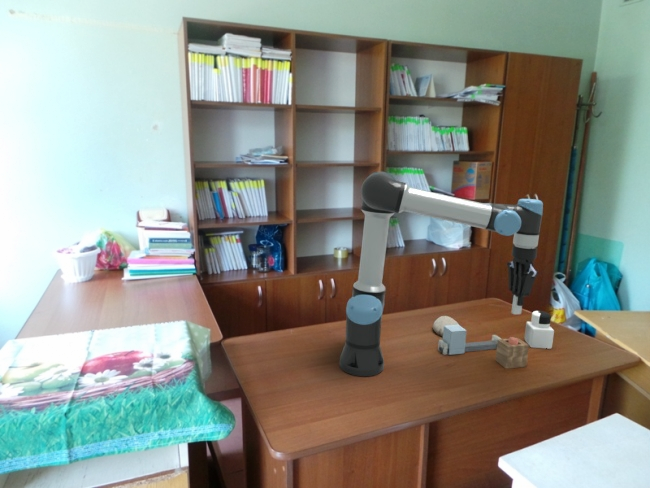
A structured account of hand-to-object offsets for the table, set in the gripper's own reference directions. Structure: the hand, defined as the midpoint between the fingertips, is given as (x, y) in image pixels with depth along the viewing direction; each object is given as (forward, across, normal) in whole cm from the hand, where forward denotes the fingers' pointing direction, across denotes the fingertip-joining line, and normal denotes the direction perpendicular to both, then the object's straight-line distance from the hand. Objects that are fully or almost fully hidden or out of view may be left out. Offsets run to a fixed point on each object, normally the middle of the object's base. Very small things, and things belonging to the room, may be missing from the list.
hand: (516, 313), depth 152 cm
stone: (+19, +30, +8) cm, 36 cm away
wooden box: (+19, 0, 0) cm, 19 cm away
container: (+19, +12, -21) cm, 31 cm away
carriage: (+19, +13, +15) cm, 27 cm away
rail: (+19, +13, +8) cm, 24 cm away
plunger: (+17, 0, 0) cm, 17 cm away
